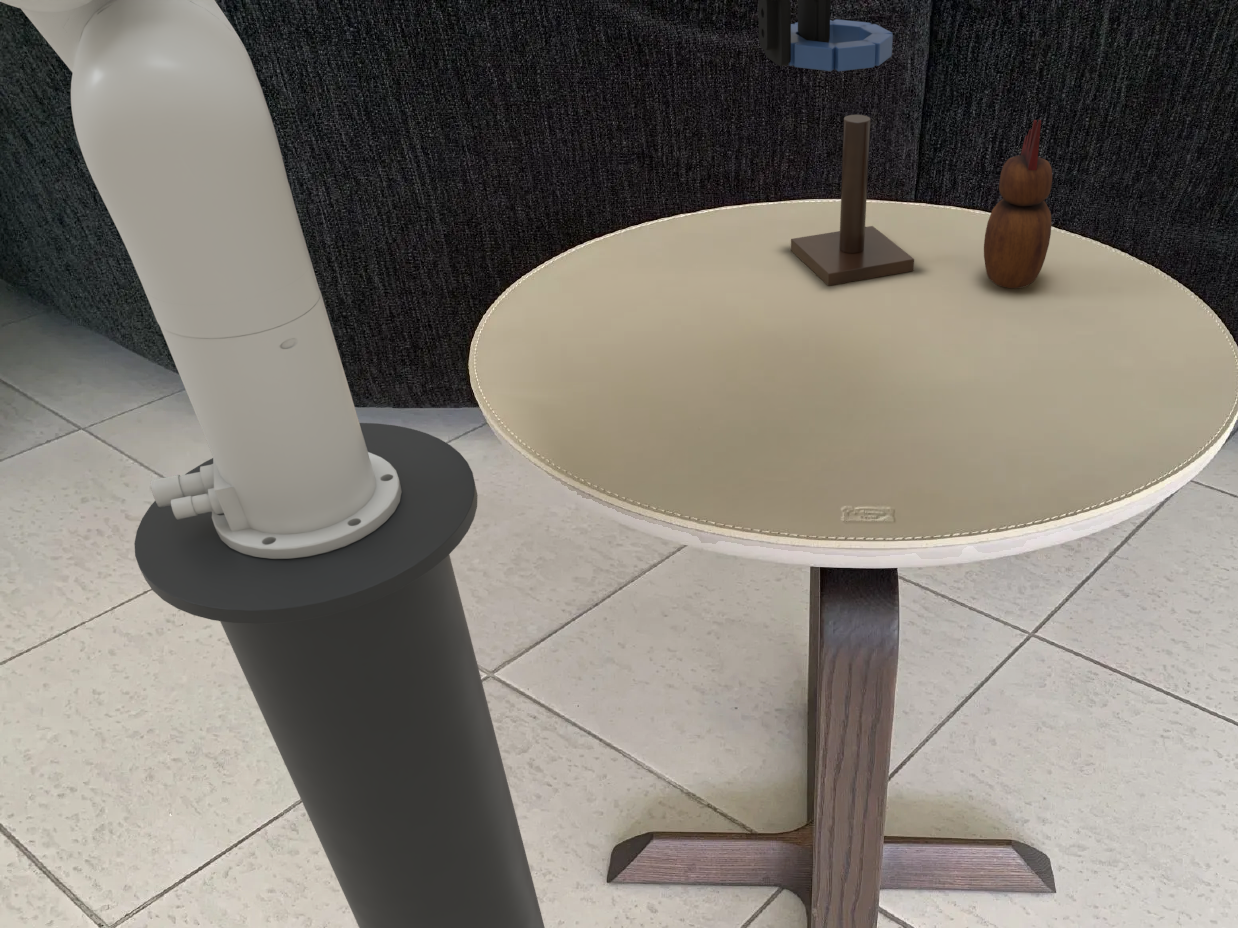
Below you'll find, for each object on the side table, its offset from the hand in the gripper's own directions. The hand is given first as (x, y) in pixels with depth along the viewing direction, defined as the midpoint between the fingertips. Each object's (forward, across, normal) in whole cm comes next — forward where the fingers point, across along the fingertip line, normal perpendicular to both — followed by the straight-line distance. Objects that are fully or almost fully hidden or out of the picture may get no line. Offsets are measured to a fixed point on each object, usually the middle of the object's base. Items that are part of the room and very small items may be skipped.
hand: (794, 57), depth 73 cm
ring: (0, +3, 0) cm, 3 cm away
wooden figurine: (+24, +25, +8) cm, 36 cm away
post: (+24, +13, +18) cm, 32 cm away
